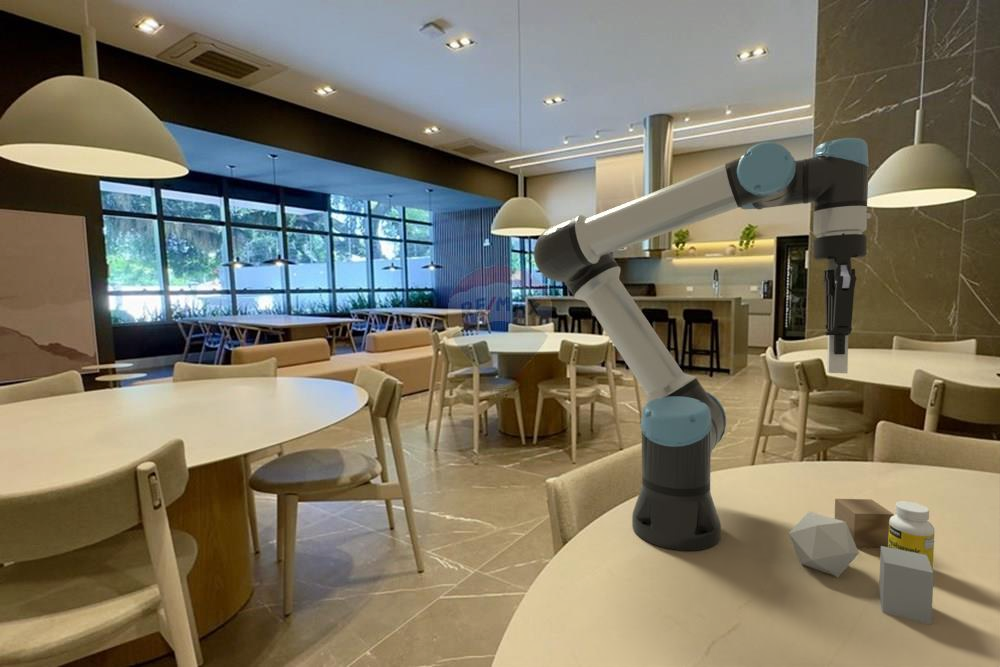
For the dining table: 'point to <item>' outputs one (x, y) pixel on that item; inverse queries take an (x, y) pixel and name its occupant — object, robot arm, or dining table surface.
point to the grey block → (906, 584)
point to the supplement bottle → (912, 529)
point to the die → (823, 543)
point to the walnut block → (864, 521)
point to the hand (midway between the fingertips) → (837, 372)
